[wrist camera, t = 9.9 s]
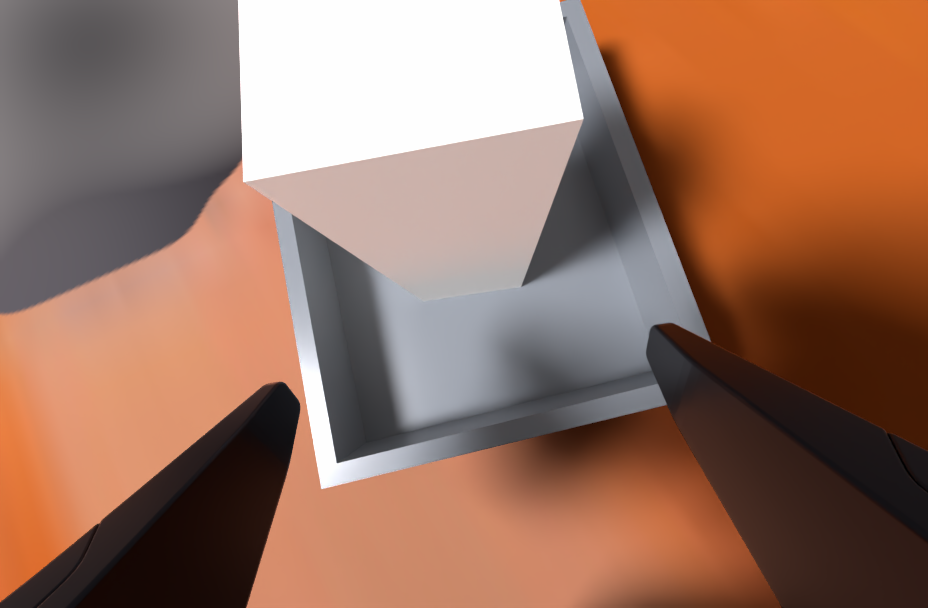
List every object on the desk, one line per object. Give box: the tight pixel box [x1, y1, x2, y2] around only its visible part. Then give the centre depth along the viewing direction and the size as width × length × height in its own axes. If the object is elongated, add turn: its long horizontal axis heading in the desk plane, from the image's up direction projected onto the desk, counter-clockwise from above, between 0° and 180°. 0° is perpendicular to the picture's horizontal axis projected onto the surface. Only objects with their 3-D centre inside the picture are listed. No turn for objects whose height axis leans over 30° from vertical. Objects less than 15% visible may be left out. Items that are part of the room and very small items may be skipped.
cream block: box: [238, 0, 584, 301], centre depth 11 cm, size 5×5×12 cm
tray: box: [272, 0, 711, 489], centre depth 16 cm, size 18×16×4 cm
